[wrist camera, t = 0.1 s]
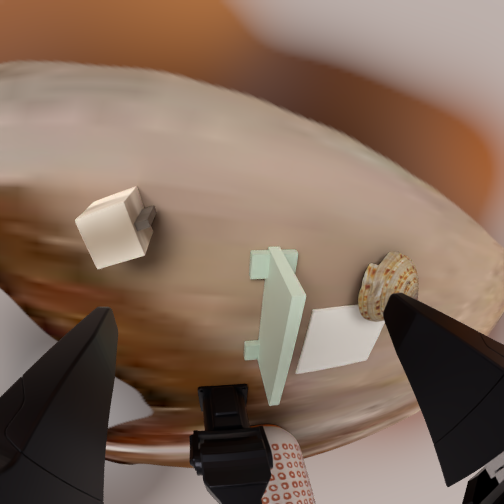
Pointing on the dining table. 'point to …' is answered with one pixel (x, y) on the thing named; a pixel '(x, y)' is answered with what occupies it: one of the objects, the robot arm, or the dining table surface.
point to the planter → (286, 470)
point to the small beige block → (117, 228)
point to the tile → (337, 338)
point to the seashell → (386, 284)
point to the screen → (276, 317)
